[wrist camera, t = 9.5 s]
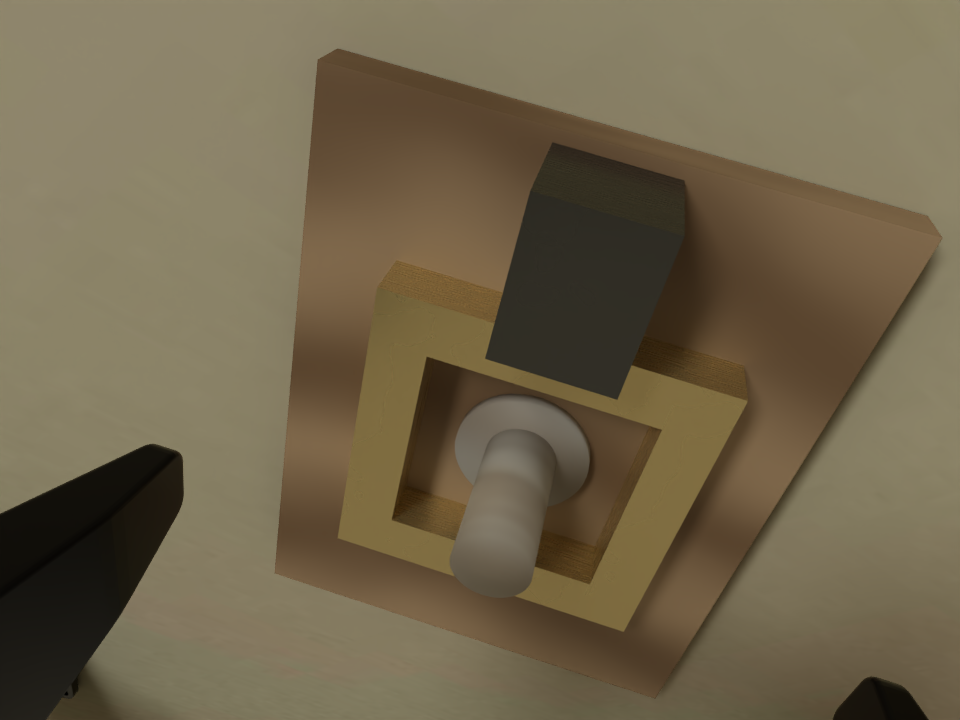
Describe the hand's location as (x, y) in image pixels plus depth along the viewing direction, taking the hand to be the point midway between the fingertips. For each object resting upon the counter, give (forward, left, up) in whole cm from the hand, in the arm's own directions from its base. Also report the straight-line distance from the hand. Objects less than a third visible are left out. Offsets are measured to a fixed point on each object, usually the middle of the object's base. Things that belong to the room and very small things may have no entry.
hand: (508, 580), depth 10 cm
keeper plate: (-7, 0, -11) cm, 13 cm away
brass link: (-4, 0, -10) cm, 11 cm away
